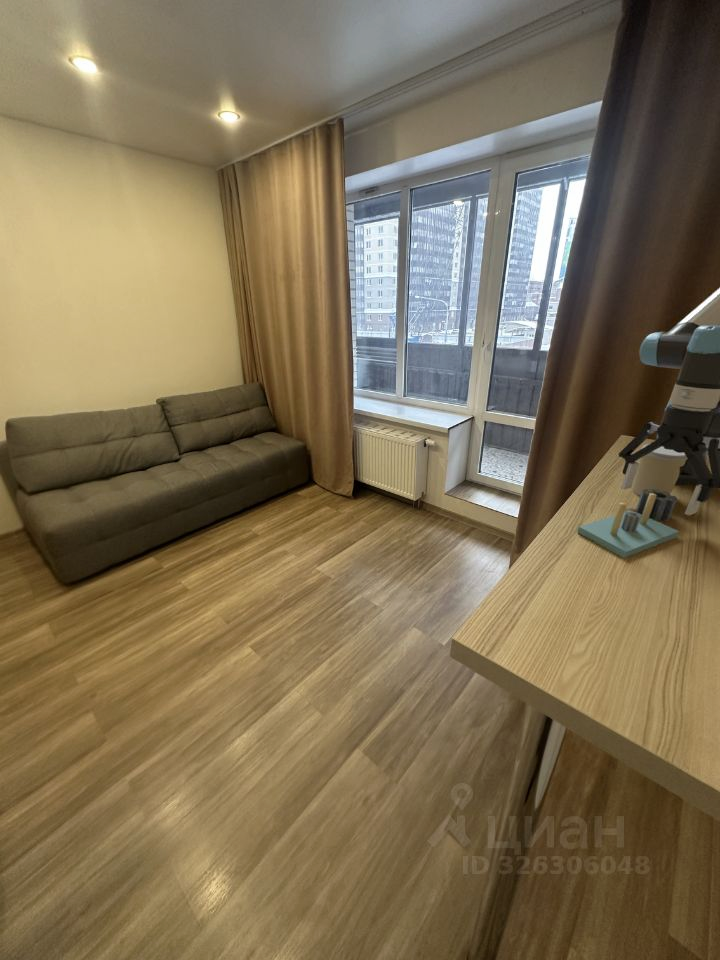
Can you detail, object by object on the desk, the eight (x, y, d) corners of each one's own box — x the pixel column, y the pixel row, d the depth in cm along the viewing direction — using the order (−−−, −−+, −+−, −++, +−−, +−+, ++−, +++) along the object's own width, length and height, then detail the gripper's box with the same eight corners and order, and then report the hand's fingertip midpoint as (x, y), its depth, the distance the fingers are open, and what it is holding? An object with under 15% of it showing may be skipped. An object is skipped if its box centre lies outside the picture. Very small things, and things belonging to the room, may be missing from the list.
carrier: (628, 515, 86) (639, 482, 83) (676, 537, 78) (691, 501, 74) (577, 532, 80) (586, 497, 76) (623, 558, 72) (637, 519, 68)
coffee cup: (680, 503, 92) (698, 457, 87) (637, 499, 93) (653, 454, 88) (660, 486, 100) (676, 444, 95) (622, 484, 102) (635, 442, 97)
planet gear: (646, 505, 91) (652, 487, 88) (675, 517, 85) (683, 498, 83) (629, 511, 88) (635, 492, 86) (658, 524, 83) (666, 504, 81)
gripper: (618, 396, 85) (593, 481, 94) (761, 424, 64) (712, 530, 73) (639, 394, 88) (613, 477, 97) (782, 420, 67) (732, 522, 76)
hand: (655, 500), depth 85 cm, fingers open, 13 cm apart
